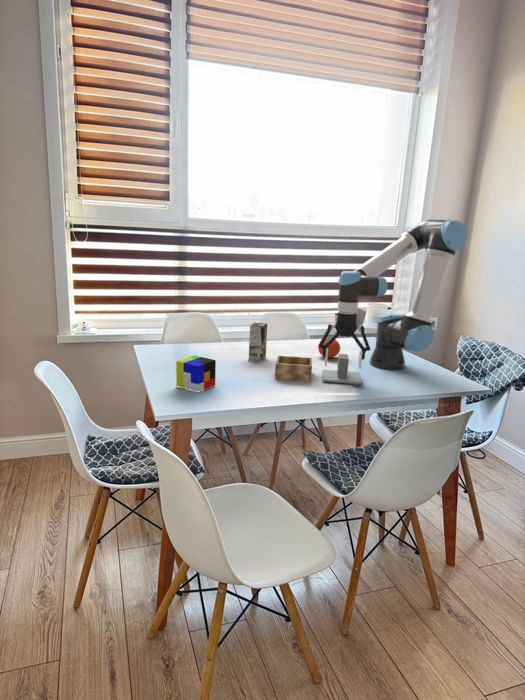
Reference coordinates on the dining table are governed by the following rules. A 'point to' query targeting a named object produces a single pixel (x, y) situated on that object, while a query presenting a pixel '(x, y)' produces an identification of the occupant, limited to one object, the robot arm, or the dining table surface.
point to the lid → (342, 373)
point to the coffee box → (257, 342)
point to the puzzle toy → (195, 373)
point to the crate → (293, 368)
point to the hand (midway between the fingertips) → (342, 366)
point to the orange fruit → (331, 348)
